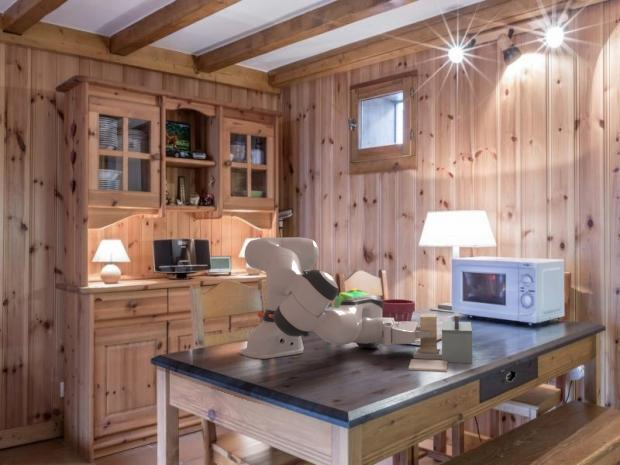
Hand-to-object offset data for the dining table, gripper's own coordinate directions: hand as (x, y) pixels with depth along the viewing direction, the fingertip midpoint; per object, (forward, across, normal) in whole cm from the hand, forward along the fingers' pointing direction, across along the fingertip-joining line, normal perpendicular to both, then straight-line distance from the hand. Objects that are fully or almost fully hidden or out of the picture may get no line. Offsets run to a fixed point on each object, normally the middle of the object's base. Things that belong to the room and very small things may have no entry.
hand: (431, 332), depth 183 cm
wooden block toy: (+4, 0, -8) cm, 8 cm away
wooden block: (-1, 0, -8) cm, 8 cm away
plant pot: (-15, -37, -8) cm, 40 cm away
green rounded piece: (-36, -62, -8) cm, 73 cm away
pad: (0, +14, -8) cm, 16 cm away
